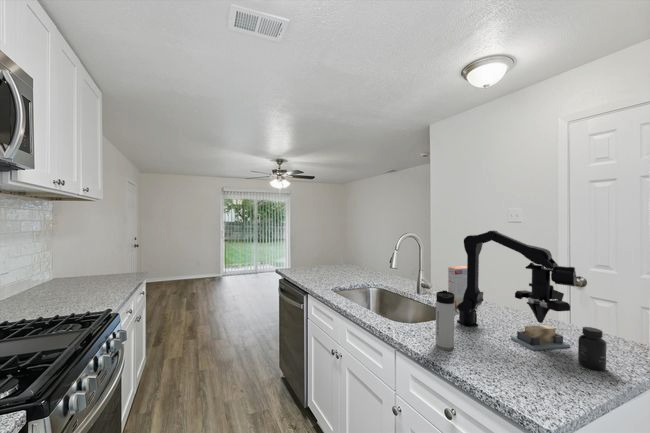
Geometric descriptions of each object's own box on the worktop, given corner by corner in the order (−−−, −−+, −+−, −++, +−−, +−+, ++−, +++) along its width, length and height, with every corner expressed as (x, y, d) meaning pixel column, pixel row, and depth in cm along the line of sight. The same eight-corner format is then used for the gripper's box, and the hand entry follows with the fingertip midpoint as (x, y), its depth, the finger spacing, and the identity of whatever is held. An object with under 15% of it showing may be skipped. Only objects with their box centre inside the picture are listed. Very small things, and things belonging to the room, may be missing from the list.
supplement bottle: (608, 374, 92) (609, 335, 92) (580, 367, 96) (580, 330, 96) (603, 364, 98) (603, 328, 98) (576, 359, 102) (576, 323, 102)
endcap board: (533, 350, 108) (533, 340, 108) (511, 339, 118) (511, 330, 118) (570, 347, 111) (570, 337, 111) (545, 336, 121) (545, 327, 121)
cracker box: (468, 303, 167) (469, 265, 167) (477, 306, 161) (477, 267, 161) (447, 304, 163) (447, 266, 163) (455, 308, 157) (455, 268, 157)
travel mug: (453, 344, 112) (453, 291, 112) (454, 352, 106) (455, 295, 106) (435, 341, 114) (436, 289, 114) (435, 349, 108) (436, 293, 108)
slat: (532, 343, 112) (532, 329, 112) (524, 339, 115) (524, 326, 115) (555, 341, 114) (555, 328, 114) (546, 337, 117) (547, 325, 117)
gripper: (583, 286, 107) (582, 330, 107) (537, 276, 125) (536, 313, 125) (557, 287, 105) (556, 332, 105) (514, 277, 123) (513, 315, 123)
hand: (540, 322), depth 114 cm, fingers closed
